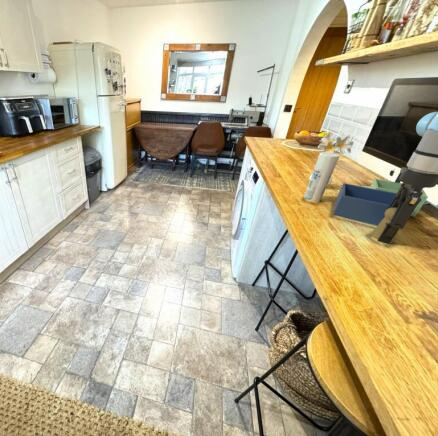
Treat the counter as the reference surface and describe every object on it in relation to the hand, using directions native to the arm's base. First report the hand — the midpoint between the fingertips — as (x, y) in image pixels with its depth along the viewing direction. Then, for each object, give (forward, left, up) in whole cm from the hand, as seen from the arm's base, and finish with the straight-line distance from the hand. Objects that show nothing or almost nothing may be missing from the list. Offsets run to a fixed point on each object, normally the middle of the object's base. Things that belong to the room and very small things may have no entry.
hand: (381, 238), depth 78 cm
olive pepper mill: (0, 0, -1) cm, 1 cm away
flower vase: (+21, -40, -1) cm, 45 cm away
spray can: (+22, -20, -1) cm, 30 cm away
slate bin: (+5, -16, 0) cm, 17 cm away
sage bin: (-4, -32, 0) cm, 32 cm away
